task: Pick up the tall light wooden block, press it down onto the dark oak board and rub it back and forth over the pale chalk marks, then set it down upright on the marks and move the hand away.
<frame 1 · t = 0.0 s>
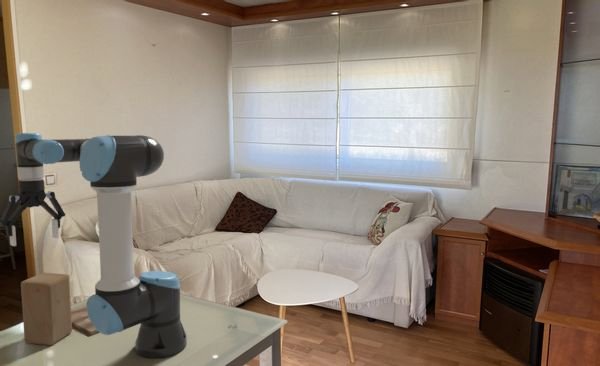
hand: (35, 241, 156), 28 cm above the table, tool pointing down, fingers open, 13 cm apart
board: (93, 319, 160), on the table
wooden block: (49, 338, 146), on the table
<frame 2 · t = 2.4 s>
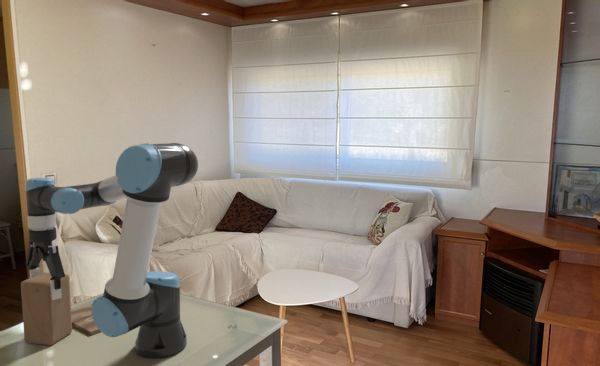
hand: (45, 293, 145), 15 cm above the table, tool pointing down, fingers open, 13 cm apart
nothing on the table moved.
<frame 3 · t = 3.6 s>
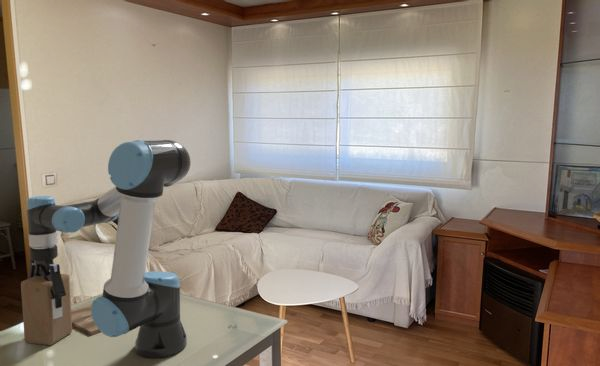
hand: (47, 312, 145), 9 cm above the table, tool pointing down, fingers closed on wooden block, 12 cm apart
wooden block: (49, 338, 146), on the table, touching gripper
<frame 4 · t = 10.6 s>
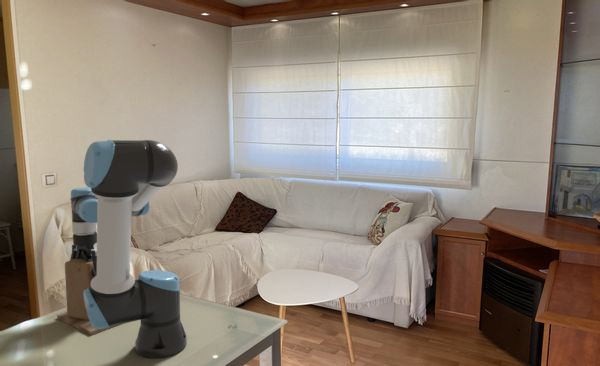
hand: (87, 293, 161), 9 cm above the table, tool pointing down, fingers open, 12 cm apart
wooden block: (88, 314, 162), point 1 cm above the table, touching board, gripper
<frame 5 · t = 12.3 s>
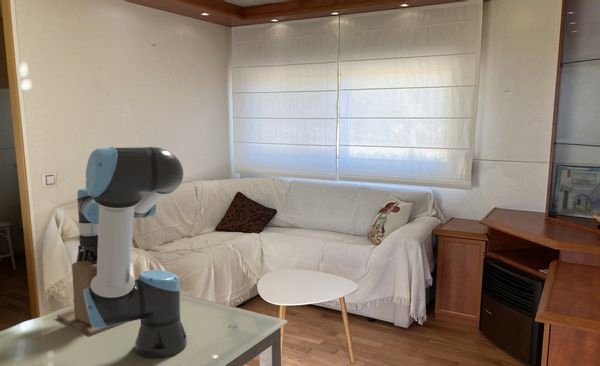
hand: (94, 294, 159), 9 cm above the table, tool pointing down, fingers open, 12 cm apart
wooden block: (95, 318, 159), point 1 cm above the table, touching board, gripper
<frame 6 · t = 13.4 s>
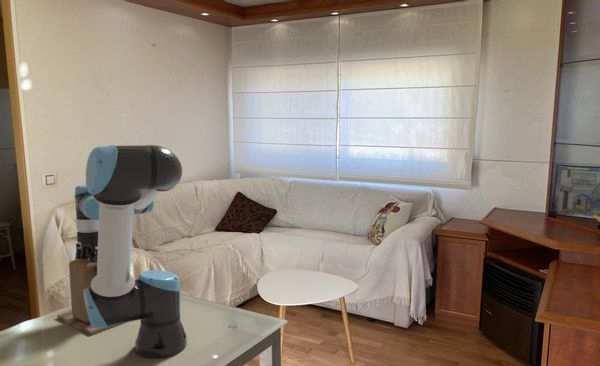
hand: (92, 293, 159), 10 cm above the table, tool pointing down, fingers closed on wooden block, 10 cm apart
wooden block: (92, 316, 160), point 1 cm above the table, touching gripper
when the fingers open (10 cm above the table, at t = 13.7 s): wooden block stays where it is, resting on board.
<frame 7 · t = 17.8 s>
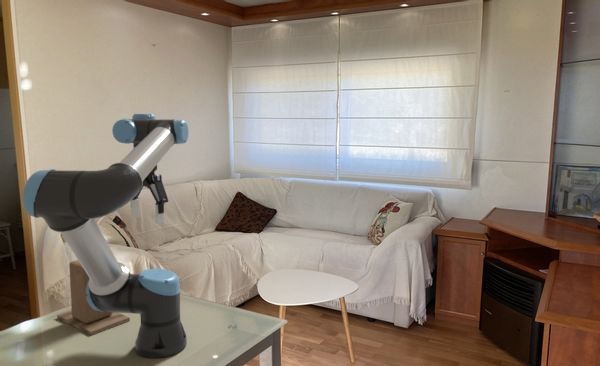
hand: (147, 220, 160), 35 cm above the table, tool pointing down, fingers open, 13 cm apart
wooden block: (92, 317, 160), point 1 cm above the table, touching board
at the end: wooden block inside the target area on the board (0.3 cm from its centre), point 1.0 cm above the board's base; wooden block tilted 0°; the gripper is holding nothing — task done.
